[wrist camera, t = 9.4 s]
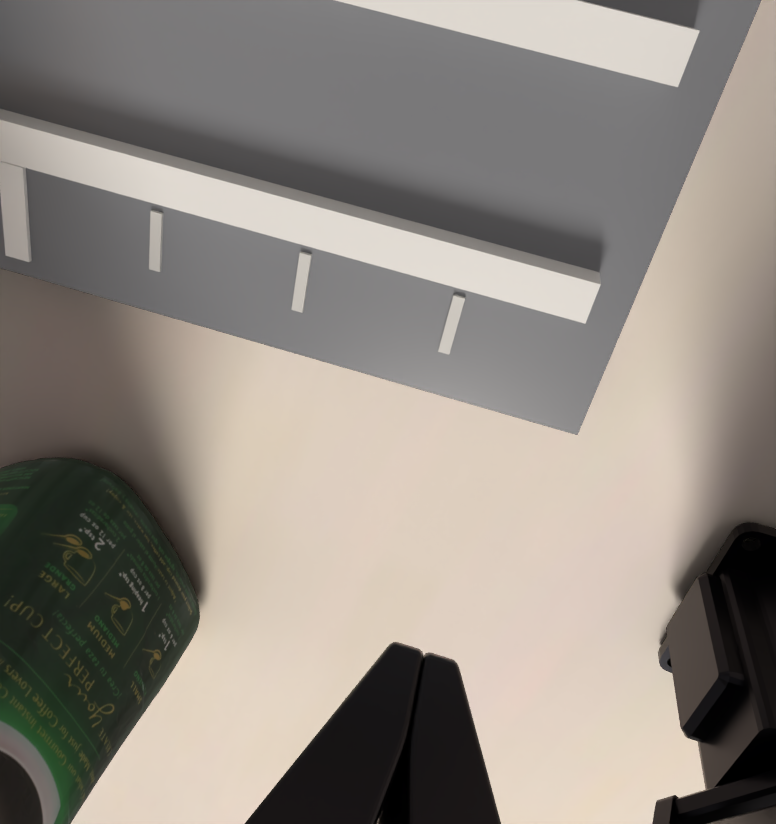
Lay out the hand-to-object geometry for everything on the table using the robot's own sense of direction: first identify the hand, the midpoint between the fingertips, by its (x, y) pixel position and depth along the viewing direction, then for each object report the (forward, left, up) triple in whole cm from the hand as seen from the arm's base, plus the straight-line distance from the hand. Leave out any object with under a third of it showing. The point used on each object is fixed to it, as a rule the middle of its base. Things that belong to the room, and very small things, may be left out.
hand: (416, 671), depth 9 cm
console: (+7, -4, -13) cm, 16 cm away
